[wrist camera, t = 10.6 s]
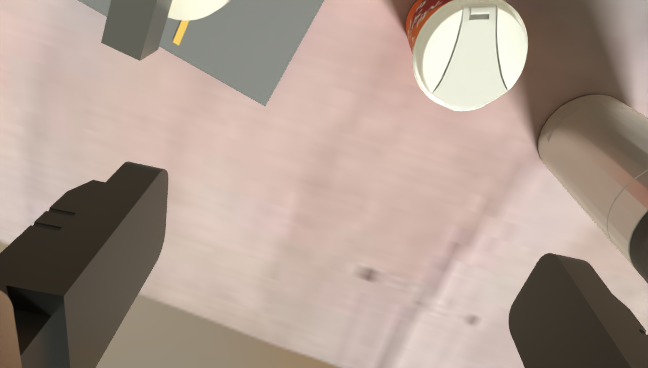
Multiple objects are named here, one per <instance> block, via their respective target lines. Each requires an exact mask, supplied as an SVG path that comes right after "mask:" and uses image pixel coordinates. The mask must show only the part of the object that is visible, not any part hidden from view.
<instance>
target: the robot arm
mask: <svg viewBox="0 0 648 368" xmlns="http://www.w3.org/2000/svg"><path fill="white" fill-rule="evenodd" d="M538 151H539V155H540V158H541V160H542V161H543V163H544V164H545V165H546V167H547V168H548V169H549V170H550V171H551V172H552V174H553V175H554V176H555V177H556V178H557V179H558V181H559V182H560V183H561V184H562V185H563V187H564V188H565V189H566V190H567V191H568V192H569V193H570V195H571V196H572V197H573V198H574V199H575V200H576V202H577V203H578V204H579V205H580V206H581V207H582V208H583V210H584V211H585V212H586V213H587V214H588V215H589V217H590V218H591V219H592V220H593V221H594V222H595V223H596V225H597V226H598V227H599V228H600V229H601V230H602V231H603V233H604V234H605V235H606V236H607V237H608V238H609V240H610V241H611V242H612V243H613V244H614V245H615V246H616V247H617V248H618V250H619V251H620V252H621V253H622V254H623V255H624V256H625V258H626V259H627V260H628V261H629V262H630V263H631V265H632V266H633V267H634V268H635V269H636V270H637V271H638V273H639V274H640V275H641V276H642V277H643V278H644V279H645V280H646V282H647V283H648V118H647V117H645V116H644V115H642V114H641V113H639V112H637V111H636V110H634V109H632V108H631V107H629V106H627V105H626V104H624V103H622V102H621V101H619V100H617V99H615V98H613V97H610V96H607V95H600V94H597V95H587V96H583V97H579V98H576V99H574V100H572V101H569V102H568V103H566V104H564V105H563V106H561V107H560V108H559V109H557V110H556V111H555V112H554V113H553V114H552V115H551V116H550V117H549V119H548V120H547V121H546V123H545V124H544V126H543V128H542V130H541V133H540V136H539V140H538ZM167 194H168V173H167V171H166V170H165V169H160V168H156V167H151V166H146V165H142V164H137V163H132V162H126V163H124V164H123V165H122V166H121V167H120V168H119V169H118V170H117V171H116V172H115V173H114V174H113V175H112V176H111V177H110V178H109V179H108V180H107V182H106V183H105V182H100V181H96V180H92V181H90V182H88V183H85V184H83V185H81V186H78V187H76V188H74V189H72V190H69V191H67V192H66V193H65V194H64V195H63V196H62V197H61V198H60V199H59V200H58V201H56V202H55V203H54V204H53V205H52V206H51V207H50V209H49V211H46V212H45V213H43V214H42V215H41V216H40V217H39V218H38V219H37V220H36V221H35V223H34V225H33V226H31V225H30V226H29V227H28V228H27V229H26V230H25V231H24V232H23V233H22V234H21V235H20V236H19V237H17V238H16V239H15V240H14V241H13V242H12V243H11V244H10V245H9V246H8V247H7V248H6V249H4V250H3V251H2V252H1V253H0V368H96V366H97V364H98V362H99V361H100V359H101V357H102V355H103V354H104V352H105V350H106V349H107V347H108V345H109V343H110V341H111V340H112V338H113V336H114V335H115V333H116V331H117V329H118V328H119V326H120V324H121V322H122V321H123V319H124V317H125V315H126V314H127V312H128V310H129V308H130V307H131V305H132V303H133V302H134V300H135V298H136V296H137V295H138V293H139V291H140V290H141V288H142V286H143V284H144V283H145V281H146V279H147V277H148V276H149V274H150V272H151V270H152V269H153V267H154V265H155V264H156V262H157V260H158V258H159V255H160V252H161V249H162V246H163V242H164V237H165V228H166V211H167ZM509 329H510V333H511V336H512V338H513V340H514V343H515V345H516V348H517V350H518V352H519V355H520V357H521V360H522V362H523V364H524V367H525V368H648V335H646V334H645V332H646V330H645V329H644V328H643V326H642V325H641V324H640V322H639V321H638V320H637V318H636V317H635V316H634V314H633V313H632V312H631V310H630V309H629V308H628V307H626V306H625V305H624V304H623V303H622V302H621V301H620V300H618V299H617V298H616V297H615V296H614V295H613V294H612V293H611V292H610V290H609V289H608V288H607V286H606V285H605V284H604V282H603V281H602V280H601V278H600V277H599V276H598V274H597V273H596V272H595V270H594V269H593V268H592V266H591V265H590V264H589V263H588V262H586V261H584V260H580V259H575V258H570V257H566V256H561V255H556V254H552V253H548V254H545V255H544V256H542V257H541V258H540V259H539V261H538V262H537V264H536V266H535V267H534V269H533V271H532V272H531V274H530V276H529V277H528V279H527V281H526V282H525V284H524V286H523V287H522V289H521V291H520V292H519V294H518V295H517V297H516V299H515V300H514V302H513V304H512V306H511V309H510V313H509Z"/></svg>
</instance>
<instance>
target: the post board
mask: <svg viewBox="0 0 648 368" xmlns="http://www.w3.org/2000/svg"><path fill="white" fill-rule="evenodd" d="M78 1H80V2H82V3H84V4H85V5H87V6H89V7H91V8H92V9H94V10H96V11H98V12H99V13H101V14H103V15H105V16H106V17H107V16H108V11H109V7H110V3H111V0H78ZM323 1H324V0H231V1H230V2H228V3H227V4H226V5H225V6H223V7H222V8H220V9H218V10H217V11H215V12H213V13H212V14H210V15H208V16H206V17H204V18H200V19H197V20H176V19H172V18H168V17H167V20H166V24H165V27H164V30H163V34H162V37H161V41H160V44H159V46H160V47H161V48H163V49H165V50H167V51H168V52H170V53H172V54H174V55H175V56H177V57H179V58H181V59H182V60H184V61H186V62H188V63H190V64H191V65H193V66H195V67H197V68H198V69H200V70H202V71H204V72H205V73H207V74H209V75H211V76H213V77H214V78H216V79H218V80H220V81H221V82H223V83H225V84H227V85H228V86H230V87H232V88H234V89H236V90H237V91H239V92H241V93H243V94H244V95H246V96H248V97H250V98H251V99H253V100H255V101H257V102H258V103H260V104H262V105H264V106H266V104H267V102H268V100H269V98H270V97H271V95H272V93H273V91H274V89H275V88H276V86H277V84H278V82H279V81H280V79H281V77H282V75H283V73H284V72H285V70H286V68H287V66H288V64H289V63H290V61H291V59H292V57H293V55H294V54H295V52H296V50H297V48H298V46H299V45H300V43H301V41H302V39H303V37H304V36H305V34H306V32H307V30H308V28H309V27H310V25H311V23H312V21H313V19H314V18H315V16H316V14H317V12H318V10H319V9H320V7H321V5H322V3H323Z"/></svg>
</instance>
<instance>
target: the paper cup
mask: <svg viewBox="0 0 648 368" xmlns="http://www.w3.org/2000/svg"><path fill="white" fill-rule="evenodd" d="M406 33H407V37H408V41H409V44H410V48H411V51H412V54H413V56H412V62H413V71H414V75H415V78H416V81H417V83H418V85H419V86H420V88H421V90H422V91H423V92H424V93H425V94H426V95H427V96H428V97H429V98H430V99H431V100H433V101H434V102H436V103H438V104H440V105H442V106H445V107H447V108H450V109H452V110H454V111H468V110H474V109H478V108H481V107H482V106H484V105H486V104H488V103H489V102H492V101H493V100H495V99H497V98H498V97H500V96H501V95H503V94H504V93H505V92H507V91H508V90H509V89H510V88H511V87H512V86H513V85H514V84H515V82H516V81H517V79H518V78H519V76H520V74H521V72H522V70H523V68H524V65H525V61H526V56H527V49H528V37H527V32H526V27H525V25H524V23H523V20H522V18H521V17H520V15H519V14H518V12H517V11H516V10H515V9H514V8H513V7H512V6H511V5H509V4H508V3H506V2H505V1H503V0H417V1H416V2H415V3H414V4H413V6H412V7H411V9H410V11H409V13H408V16H407V20H406Z"/></svg>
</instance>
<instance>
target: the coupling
mask: <svg viewBox="0 0 648 368" xmlns="http://www.w3.org/2000/svg"><path fill="white" fill-rule="evenodd" d="M230 1H231V0H111V3H110V7H109V11H108V16H107V20H106V24H105V29H104V33H103V37H102V42H101V43H103V44H105V45H107V46H110V47H112V48H114V49H116V50H118V51H120V52H122V53H124V54H127V55H129V56H131V57H133V58H135V59H137V60H139V61H140V60H142V59H143V58H145V57H147V56H148V55H150V54H152V53H153V52H155V51H156V50H158V47H159V44H160V41H161V37H162V34H163V30H164V27H165V24H166V20H167V17H168V18H172V19H176V20H197V19H200V18H204V17H206V16H208V15H210V14H212V13H213V12H215V11H217V10H218V9H220V8H222V7H223V6H225V5H226V4H227V3H228V2H230Z"/></svg>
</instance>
